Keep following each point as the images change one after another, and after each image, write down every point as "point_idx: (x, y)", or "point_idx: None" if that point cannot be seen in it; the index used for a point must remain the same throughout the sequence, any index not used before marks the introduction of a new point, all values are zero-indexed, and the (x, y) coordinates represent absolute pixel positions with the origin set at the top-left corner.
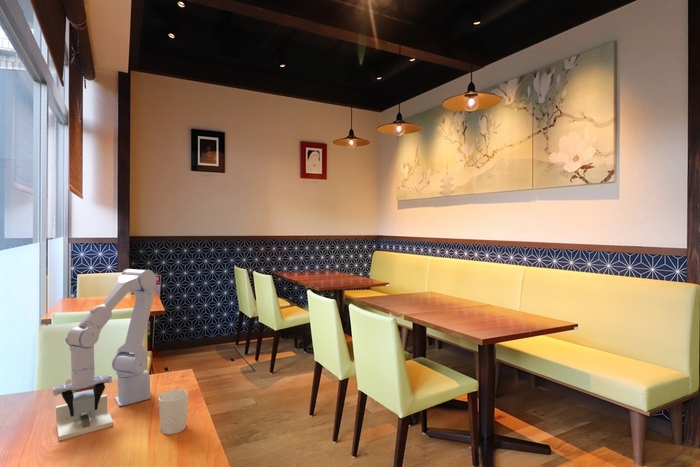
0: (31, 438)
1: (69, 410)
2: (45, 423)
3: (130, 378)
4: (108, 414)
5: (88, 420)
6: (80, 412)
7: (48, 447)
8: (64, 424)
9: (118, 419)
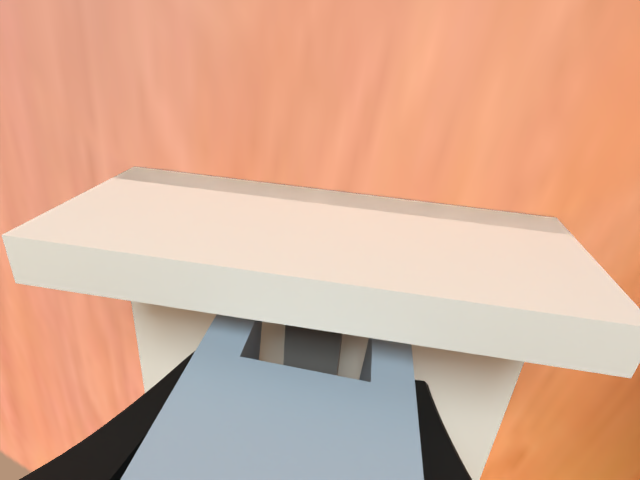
0: (12, 287)
1: (169, 375)
2: (48, 87)
3: None
4: (497, 402)
5: None
6: None
7: None
8: (179, 324)
9: (533, 435)
